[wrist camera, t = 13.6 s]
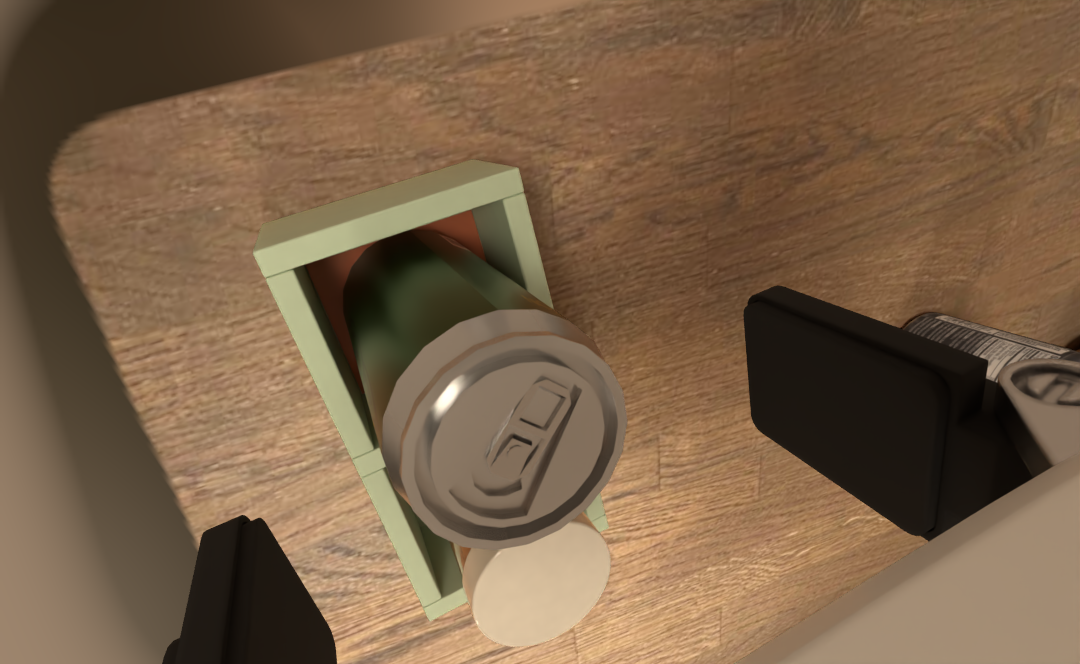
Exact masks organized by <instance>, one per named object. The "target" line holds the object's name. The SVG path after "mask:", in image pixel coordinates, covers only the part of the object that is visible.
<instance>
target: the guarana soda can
mask: <svg viewBox="0 0 1080 664" xmlns="http://www.w3.org/2000/svg"><path fill="white" fill-rule="evenodd" d="M343 313H344V317H345V321H346V325H347V328H348V332H349V336H350V339H351V343H352V347H353V350H354V354H355V358H356V362H357V365H358V369H359V373H360V376H361V380H362V384H363V387H364V391H365V395H366V399H367V402H368V406H369V410H370V413H371V417H372V421H373V425H374V428H375V432H376V436H377V439H378V443H379V447H380V450H381V454H382V457H383V460H384V463H385V465H386V468H387V471H388V473H389V476H390V479H391V482H392V484H393V487H394V489H395V490H396V491H397V492H398V493H399V494H400V495H401V496H402V497H403V498H404V499H405V500H406V502H407V503H408V504H409V505H410V506H411V507H412V510H413V511H414V513H415V514H416V515H417V516H418V517H419V518H420V519H421V520H422V521H423V522H424V523H425V524H426V525H427V526H428V528H429V529H430V530H431V531H432V532H433V533H434V534H436V535H438V536H440V537H442V538H444V539H447V540H449V541H451V542H453V543H455V544H457V545H459V546H462V547H467V548H477V549H486V550H500V549H506V548H511V547H517V546H522V545H527V544H530V543H532V542H535V541H537V540H539V539H541V538H543V537H545V536H548V535H550V534H552V533H554V532H556V531H558V530H560V529H562V528H563V527H564V526H565V525H567V524H568V523H569V522H570V521H572V520H573V519H574V518H576V517H577V516H578V515H579V514H581V513H582V512H583V511H585V510H586V509H587V508H588V507H589V506H590V504H591V503H592V502H593V501H594V499H595V498H596V497H597V496H598V494H599V493H600V492H601V491H602V489H603V488H604V487H605V486H606V484H607V483H608V482H609V480H610V478H611V475H612V473H613V471H614V469H615V467H616V465H617V462H618V460H619V458H620V456H621V454H622V451H623V445H624V439H625V433H626V427H627V414H626V408H625V401H624V394H623V390H622V388H621V387H620V385H619V383H618V381H617V379H616V377H615V376H614V374H613V372H612V370H611V368H610V366H609V365H608V364H607V363H606V362H605V360H604V358H603V356H602V355H601V353H600V351H599V349H598V347H597V346H596V344H595V342H594V341H593V340H592V339H591V338H589V337H588V336H587V335H586V334H585V333H584V332H582V331H581V330H580V329H579V328H578V327H576V326H575V325H574V324H573V323H572V322H570V321H569V320H568V319H566V318H565V317H563V316H562V315H561V314H559V313H558V312H556V311H555V310H553V309H552V308H551V307H549V306H548V305H546V304H545V303H543V302H542V301H541V300H539V299H538V298H536V297H535V296H533V295H532V294H531V293H529V292H528V291H526V290H525V289H524V288H522V287H521V286H519V285H518V284H516V283H515V282H514V281H512V280H511V279H509V278H508V277H506V276H505V275H504V274H502V273H501V272H499V271H498V270H496V269H495V268H494V267H492V266H491V265H489V264H488V263H487V262H485V261H484V260H482V259H481V258H479V257H478V256H477V255H475V254H474V253H472V252H471V251H469V250H468V249H467V248H465V247H464V246H462V245H461V244H459V243H458V242H457V241H455V240H454V239H452V238H449V237H447V236H444V235H441V234H439V233H436V232H434V231H425V230H408V231H405V232H402V233H399V234H396V235H393V236H390V237H387V238H384V239H381V240H379V241H377V242H376V243H374V244H373V245H371V246H370V247H368V248H366V249H365V250H364V252H363V253H362V254H361V256H360V257H359V258H358V259H357V261H356V262H355V263H354V264H353V266H352V267H351V269H350V272H349V274H348V277H347V280H346V283H345V286H344V288H343Z"/></svg>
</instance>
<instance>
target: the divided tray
mask: <svg viewBox="0 0 1080 664" xmlns="http://www.w3.org/2000/svg"><path fill="white" fill-rule="evenodd" d="M523 192H524V187H523V183H522V179H521V175H520V171H519V168H518V167H512V166H507V165H501V164H496V163H491V162H485V161H480V160H474V159H472V160H469V161H465V162H462V163H459V164H456V165H452V166H449V167H446V168H442V169H439V170H436V171H433V172H429V173H426V174H423V175H420V176H416V177H413V178H410V179H407V180H403V181H400V182H397V183H394V184H390V185H387V186H384V187H381V188H377V189H374V190H371V191H368V192H364V193H361V194H358V195H355V196H351V197H348V198H345V199H342V200H338V201H335V202H332V203H329V204H325V205H322V206H319V207H316V208H312V209H309V210H306V211H303V212H299V213H296V214H293V215H290V216H286V217H283V218H280V219H277V220H273V221H270V222H267V223H264V224H262V226H261V229H260V232H259V235H258V238H257V241H256V244H255V247H254V250H253V255H254V257H255V259H256V261H257V263H258V265H259V268H260V270H261V272H262V274H263V276H264V277H266V282H267V284H268V286H269V288H270V290H271V292H272V295H273V297H274V299H275V301H276V303H277V305H278V307H279V309H280V311H281V313H282V315H283V317H284V319H285V322H286V324H287V326H288V328H289V330H290V332H291V334H292V336H293V338H294V340H295V342H296V344H297V347H298V349H299V351H300V353H301V355H302V357H303V359H304V361H305V363H306V365H307V367H308V369H309V372H310V374H311V376H312V378H313V380H314V382H315V384H316V386H317V388H318V390H319V392H320V394H321V397H322V399H323V401H324V403H325V405H326V407H327V409H328V411H329V413H330V415H331V417H332V419H333V422H334V424H335V426H336V428H337V430H338V432H339V434H340V436H341V438H342V440H343V442H344V444H345V447H346V449H347V451H348V453H349V455H350V457H351V458H352V461H353V463H354V465H355V468H356V470H357V472H358V474H359V476H360V477H361V480H362V482H363V484H364V486H365V488H366V490H367V492H368V494H369V496H370V499H371V501H372V503H373V505H374V507H375V509H376V511H377V513H378V515H379V517H380V519H381V521H382V523H383V526H384V528H385V530H386V532H387V534H388V536H389V538H390V540H391V542H392V544H393V546H394V548H395V551H396V553H397V555H398V557H399V559H400V561H401V563H402V565H403V567H404V569H405V571H406V573H407V576H408V578H409V580H410V582H411V584H412V586H413V588H414V590H415V592H416V594H417V596H418V598H419V601H420V603H421V605H422V606H423V609H424V611H425V613H426V615H427V617H428V620H429V621H432V620H434V619H436V618H438V617H440V616H442V615H444V614H445V613H447V612H449V611H451V610H453V609H455V608H457V607H459V606H461V605H463V604H465V603H466V602H467V599H466V596H465V593H464V590H463V583H462V580H463V579H462V576H461V573H460V571H459V568H458V565H457V563H456V560H455V557H454V555H453V552H452V549H451V547H450V544H449V541H448V540H447V539H444V538H442V537H440V536H438V535H436V534H434V533H433V532H432V531H431V530H430V529H429V528H428V526H427V525H426V524H425V523H424V522H423V521H422V520H421V519H420V518H419V517H418V516H417V515H416V514H415V513H414V511H413V510H412V507H411V506H410V505H409V504H408V503H407V502H406V500H405V499H404V498H403V497H402V496H401V495H400V494H399V493H398V492H397V491H396V490H395V489H394V487H393V484H392V482H391V479H390V476H389V473H388V471H387V468H386V465H385V463H384V460H383V457H382V454H381V450H380V447H379V443H378V439H377V436H376V432H375V428H374V425H373V421H372V417H371V413H370V410H369V406H368V402H367V399H366V395H365V391H364V387H363V384H362V380H361V376H360V373H359V369H358V365H357V362H356V358H355V354H354V350H353V347H352V343H351V339H350V336H349V332H348V328H347V325H346V321H345V317H344V313H343V288H344V286H345V283H346V280H347V277H348V274H349V272H350V269H351V267H352V266H353V264H354V263H355V262H356V261H357V259H358V258H359V257H360V256H361V254H362V253H363V252H364V250H365V249H366V248H368V247H370V246H371V245H373V244H374V243H376V242H377V241H379V240H381V239H384V238H387V237H390V236H393V235H396V234H399V233H402V232H405V231H408V230H425V231H434V232H436V233H439V234H441V235H444V236H447V237H449V238H452V239H454V240H455V241H457V242H458V243H459V244H461V245H462V246H464V247H465V248H467V249H468V250H469V251H471V252H472V253H474V254H475V255H477V256H478V257H479V258H481V259H482V260H484V261H485V262H487V263H488V264H489V265H491V266H492V267H494V268H495V269H496V270H498V271H499V272H501V273H502V274H504V275H505V276H506V277H508V278H509V279H511V280H512V281H514V282H515V283H516V284H518V285H519V286H521V287H522V288H524V289H525V290H526V291H528V292H529V293H531V294H532V295H533V296H535V297H536V298H538V299H539V300H541V301H542V302H543V303H545V304H546V305H548V306H549V307H551V308H552V309H553V310H554V308H553V304H552V300H551V296H550V292H549V288H548V284H547V280H546V276H545V272H544V268H543V264H542V260H541V256H540V252H539V248H538V244H537V240H536V236H535V232H534V228H533V224H532V220H531V216H530V212H529V208H528V204H527V200H526V196H525V194H524V193H523ZM583 512H584V513H585V514H586V515H587V516H588V518H589V519H590V520H591V522H592V523H593V524H594V526H595V527H596V528H597V529H598V531H599V532H602V531H604V530H606V529H608V528H609V526H608V522H607V518H606V514H605V510H604V506H603V502H602V498H601V494H600V493H599V494H598V496H597V497H596V498H595V499H594V501H593V502H592V503H591V504H590V506H589V507H588V508H587V509H586V510H585V511H583Z"/></svg>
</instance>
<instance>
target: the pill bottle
mask: <svg viewBox="0 0 1080 664" xmlns="http://www.w3.org/2000/svg"><path fill="white" fill-rule="evenodd" d="M903 330H906V331H908V332H911V333H914V334H917V335H920V336H922V337H925V338H928V339H931V340H934V341H936V342H939V343H942V344H945V345H947V346H950V347H953V348H956V349H959V350H961V351H964V352H967V353H970V354H973V355H975V356H978V357H981V358H984V359H986V360H989V361H988V368H987V375H986V378H987V379H989V380H992V381H995V382H997V380H998V376H999V373H1000V371H1001V369H1003V368H1004V367H1005V366H1007V365H1008V364H1010V363H1014V362H1017V361H1020V360H1026V359H1035V358H1049V359H1062V360H1068V361H1075V362H1079V363H1080V352H1077V351H1074V350H1071V349H1068V348H1064V347H1060V346H1057V345H1054V344H1049V343H1046V342H1042V341H1038V340H1035V339H1031V338H1028V337H1024V336H1020V335H1017V334H1013V333H1010V332H1006V331H1002V330H999V329H995V328H991V327H988V326H984V325H980V324H977V323H973V322H970V321H966V320H962V319H959V318H955V317H952V316H948V315H945V314H940V313H927V314H924V315H921V316H919V317H917V318H916V319H914V320H913V321H911V322H910V323H909V324H908V325H907V326H906V327H905V328H904V329H903Z"/></svg>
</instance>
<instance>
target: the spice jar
mask: <svg viewBox="0 0 1080 664" xmlns="http://www.w3.org/2000/svg"><path fill="white" fill-rule="evenodd" d="M448 541H449V540H448ZM449 544H450V547H451V549H452V552H453V555H454V557H455V560H456V563H457V565H458V568H459V571H460V573H461V576H462V579H463V580H462V583H463V590H464V593H465V596H466V599H467V602H468V605H469V607H470V610H471V613H472V616H473V618H474V621H475V623H476V625H477V627H478V629H479V630H480V631H481V632H482V633H483V634H484V635H485V636H486V637H487V638H488V639H490V640H492V641H493V642H495V643H498V644H501V645H504V646H509V647H528V646H533V645H538V644H541V643H544V642H547V641H549V640H552V639H554V638H556V637H558V636H560V635H562V634H563V633H565V632H567V631H568V630H570V629H571V628H572V627H574V626H575V625H576V624H578V623H579V622H580V621H581V620H582V619H583V618H584V617H585V616H586V615H587V614H588V613H589V612H590V611H591V610H592V608H593V607H594V606H595V605H596V603H597V602H598V600H599V599H600V597H601V595H602V593H603V591H604V590H605V587H606V585H607V582H608V579H609V575H610V568H611V557H610V551H609V548H608V545H607V543H606V541H605V539H604V537H603V536H602V535H601V533H600V532H599V531H598V529H597V528H596V527H595V526H594V524H593V523H592V522H591V520H590V519H589V518H588V516H587V515H586V514H585V513H584V512H582V513H581V514H579V515H578V516H577V517H576V518H574V519H573V520H572V521H570V522H569V523H568V524H567V525H565V526H564V527H563V528H562V529H560V530H558V531H556V532H554V533H552V534H550V535H548V536H545V537H543V538H541V539H539V540H537V541H535V542H532V543H530V544H527V545H522V546H517V547H511V548H506V549H500V550H486V549H477V548H467V547H462V546H459V545H457V544H455V543H453V542H451V541H449Z"/></svg>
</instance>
